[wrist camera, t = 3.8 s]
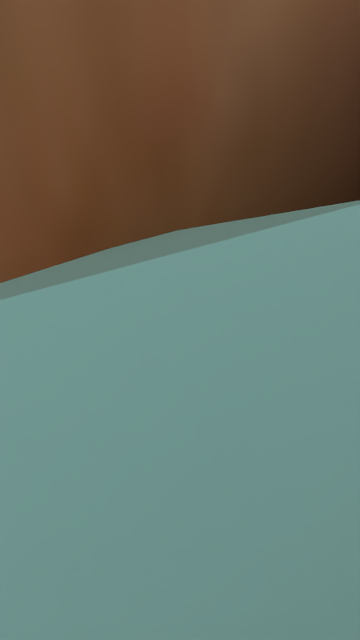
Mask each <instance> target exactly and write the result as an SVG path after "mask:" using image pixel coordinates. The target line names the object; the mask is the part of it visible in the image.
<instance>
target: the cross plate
mask: <svg viewBox="0 0 360 640" xmlns="http://www.w3.org/2000/svg"><path fill="white" fill-rule="evenodd" d="M0 640H360V200H359V201H353V202H347V203H340V204H334V205H328V206H322V207H316V208H310V209H304V210H298V211H292V212H286V213H280V214H274V215H268V216H262V217H255V218H249V219H243V220H237V221H231V222H225V223H219V224H213V225H207V226H201V227H195V228H189V229H183V230H177V231H173V232H169V233H166V234H162V235H158V236H154V237H151V238H147V239H143V240H139V241H136V242H132V243H128V244H124V245H120V246H117V247H113V248H109V249H106V250H103V251H100V252H97V253H94V254H91V255H88V256H84V257H81V258H78V259H75V260H72V261H69V262H66V263H62V264H59V265H56V266H53V267H50V268H47V269H44V270H40V271H37V272H34V273H31V274H28V275H25V276H22V277H18V278H15V279H12V280H9V281H6V282H3V283H0Z"/></svg>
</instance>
